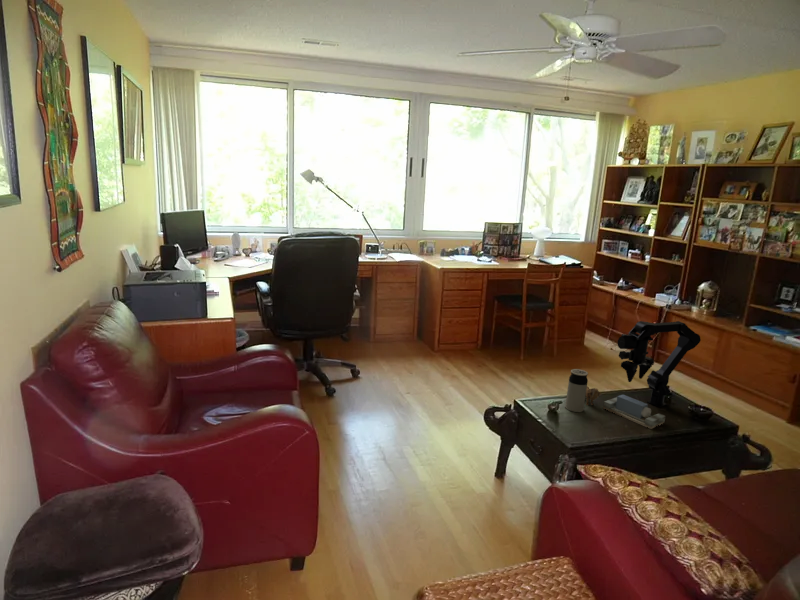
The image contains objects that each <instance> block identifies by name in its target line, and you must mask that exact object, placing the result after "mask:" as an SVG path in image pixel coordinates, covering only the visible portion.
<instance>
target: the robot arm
mask: <svg viewBox="0 0 800 600" xmlns="http://www.w3.org/2000/svg"><path fill="white" fill-rule="evenodd" d="M671 332H672V333H673V332H676V334H677V335H679V336H678V338H677V345H676V347H674V349H673V350H672V352H671V353H670V354H669V356H668V357H667V358H666V360H665V361H664V362H663V364H662V365H661V366H660V368H659V369H658V370H656V371H655V370H654V369H653V370H651V371H650V374H649V375H647V379H646V383H647V385H648V389H650V390H651V395H650V399H649V400H646V403H647V404H651V405H653V406H656V407H659V408H661V407H663V406H666V405H667V402H665V397H666V396H669V395H670V393H671V390H670V388H669V387H668V384H669V382H670V381H669V380H670V376H671V374H672V373H673V372H674V370H675V369H676V367H677V366H678V364H679V363H680V362H681V360H682V359H683V358H684V356H685V355H686V354H687V352H689V351H691V350H693V349H695V348H696V347H697V346H698V345H699V344H700V342H701V341H702V340H701V336H700V335H699V333H697V332H695V331H693V330H692V329H691V328H690V327H689V326H688V325H687V324H686V323H685V322H682V321H679V320H678V321H671V322H670V321H668V322H667V321H666V322H648V321H642V320H641V321H637V322H636V323H635V325H634V326H633V327H632V329H631V330H630V331H629V332H628V334H625V333H622V334H621V336H620V337H618V339H617V347H618V348H619V349H620V351H619V352H618V357H619V358H620V360H621V361H622V360H624V361H622V362H621V363H620V368H622V369H624V371H625V372H626V377H627V382H628V383H631V382H632V381H633V379H634V377H635V376H636V374H637V372H638V378H639V379H640V380H641V379H643V378H644V376H645V375H646V374H647V372H648V371H649V370H650V369H651V368H652V366H654V365H655V360H654V358H652V357H648V356H647V355H648V354H649V351H648V345H649V342H650V341H654V338H652V336H655V334H659V333H671ZM625 350H630V351H625ZM638 367H639V370H637V369H638Z"/></svg>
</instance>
